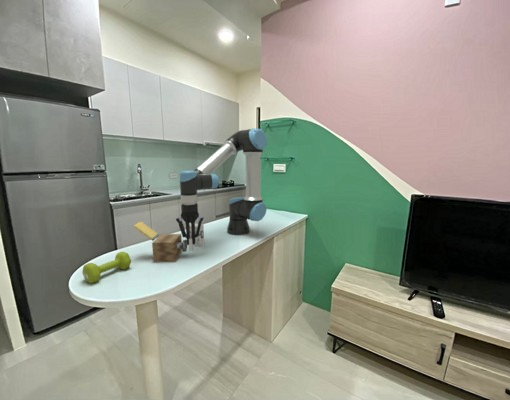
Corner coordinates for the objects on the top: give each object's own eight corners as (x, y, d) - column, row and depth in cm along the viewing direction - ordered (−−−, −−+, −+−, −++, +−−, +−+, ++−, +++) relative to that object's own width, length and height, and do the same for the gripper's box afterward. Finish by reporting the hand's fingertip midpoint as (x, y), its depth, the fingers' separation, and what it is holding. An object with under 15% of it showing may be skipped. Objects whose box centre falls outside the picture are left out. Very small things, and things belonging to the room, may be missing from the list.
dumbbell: (92, 286, 83) (89, 268, 82) (81, 281, 87) (78, 264, 86) (133, 268, 97) (132, 252, 96) (122, 264, 101) (121, 249, 100)
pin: (187, 248, 112) (187, 238, 111) (184, 253, 107) (184, 242, 106) (162, 249, 111) (161, 238, 110) (158, 253, 106) (157, 242, 105)
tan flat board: (158, 236, 111) (159, 234, 111) (153, 241, 104) (154, 239, 104) (139, 222, 109) (140, 221, 109) (132, 226, 102) (134, 225, 102)
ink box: (186, 245, 125) (185, 224, 122) (191, 241, 129) (190, 222, 127) (200, 246, 122) (199, 226, 120) (204, 243, 127) (203, 223, 125)
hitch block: (182, 251, 115) (181, 234, 114) (175, 261, 104) (174, 242, 102) (162, 251, 115) (161, 234, 113) (153, 262, 103) (152, 242, 101)
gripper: (204, 201, 109) (206, 247, 114) (177, 202, 109) (180, 247, 113) (202, 204, 102) (203, 253, 106) (173, 205, 101) (175, 253, 105)
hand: (191, 250), depth 109 cm, fingers closed
